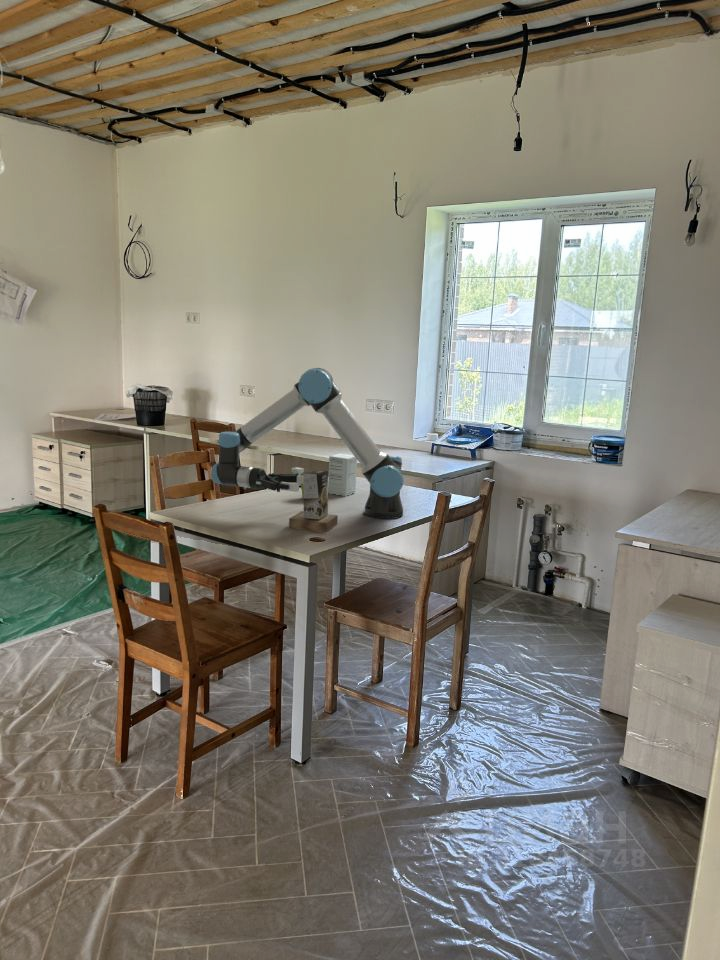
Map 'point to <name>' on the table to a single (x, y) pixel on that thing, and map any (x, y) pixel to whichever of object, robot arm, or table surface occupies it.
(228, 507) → the table surface
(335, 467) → the supplement box
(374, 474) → the robot arm
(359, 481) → the table surface
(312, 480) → the coffee box
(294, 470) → the stamp
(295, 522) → the walnut riser block
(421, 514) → the table surface
